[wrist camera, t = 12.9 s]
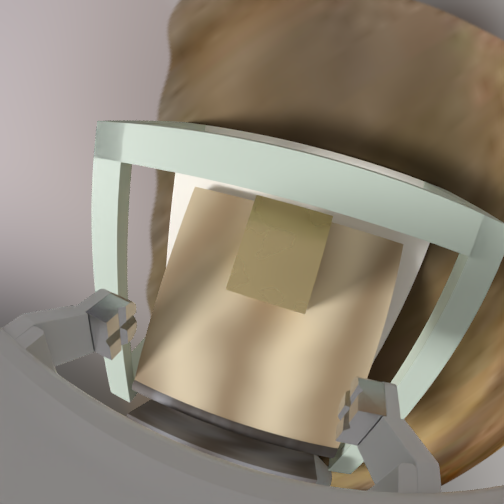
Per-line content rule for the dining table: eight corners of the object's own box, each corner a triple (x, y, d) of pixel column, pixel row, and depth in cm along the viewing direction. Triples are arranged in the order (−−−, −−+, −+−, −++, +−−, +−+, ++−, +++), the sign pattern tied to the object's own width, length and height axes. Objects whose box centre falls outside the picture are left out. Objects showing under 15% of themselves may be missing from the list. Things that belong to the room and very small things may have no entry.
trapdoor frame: (444, 189, 19) (513, 228, 10) (354, 388, 28) (350, 474, 18) (186, 122, 23) (97, 120, 13) (166, 328, 31) (111, 392, 22)
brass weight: (321, 241, 20) (333, 216, 15) (300, 311, 20) (305, 314, 14) (265, 225, 21) (256, 194, 15) (243, 294, 20) (225, 289, 15)
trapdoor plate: (391, 251, 22) (414, 238, 18) (298, 501, 19) (299, 534, 14) (205, 199, 25) (186, 175, 20) (133, 443, 22) (106, 464, 17)
